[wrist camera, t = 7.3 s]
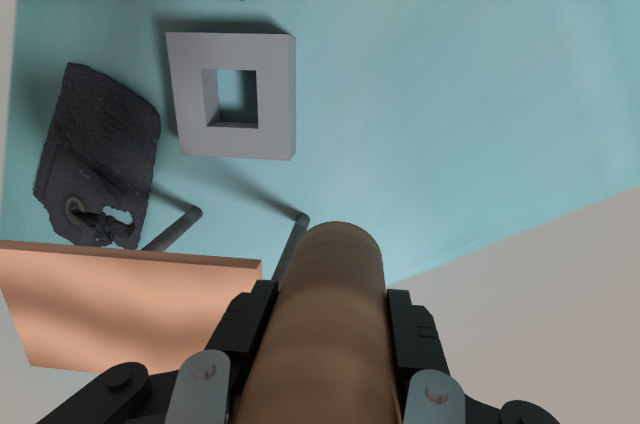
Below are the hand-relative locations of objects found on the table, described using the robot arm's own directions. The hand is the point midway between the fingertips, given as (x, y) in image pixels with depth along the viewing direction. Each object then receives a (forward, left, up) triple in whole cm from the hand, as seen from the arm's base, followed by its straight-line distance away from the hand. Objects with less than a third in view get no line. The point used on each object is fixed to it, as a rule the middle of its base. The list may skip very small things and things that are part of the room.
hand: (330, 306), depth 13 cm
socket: (-5, -12, -29) cm, 32 cm away
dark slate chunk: (+4, -31, -30) cm, 43 cm away
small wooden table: (+7, -12, -29) cm, 32 cm away
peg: (0, 0, -3) cm, 3 cm away
